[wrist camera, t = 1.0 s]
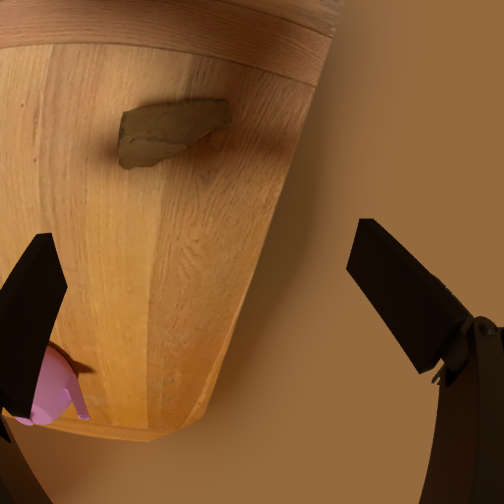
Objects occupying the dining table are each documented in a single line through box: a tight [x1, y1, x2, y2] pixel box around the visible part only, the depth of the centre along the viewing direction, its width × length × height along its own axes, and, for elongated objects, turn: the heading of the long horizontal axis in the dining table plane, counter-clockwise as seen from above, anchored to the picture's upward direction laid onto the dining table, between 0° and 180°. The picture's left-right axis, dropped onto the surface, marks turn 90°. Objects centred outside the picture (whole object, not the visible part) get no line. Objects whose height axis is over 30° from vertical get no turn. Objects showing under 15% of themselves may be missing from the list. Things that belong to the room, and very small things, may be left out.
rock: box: [118, 99, 233, 170], centre depth 23 cm, size 11×9×10 cm
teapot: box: [15, 345, 90, 425], centre depth 33 cm, size 22×16×12 cm
